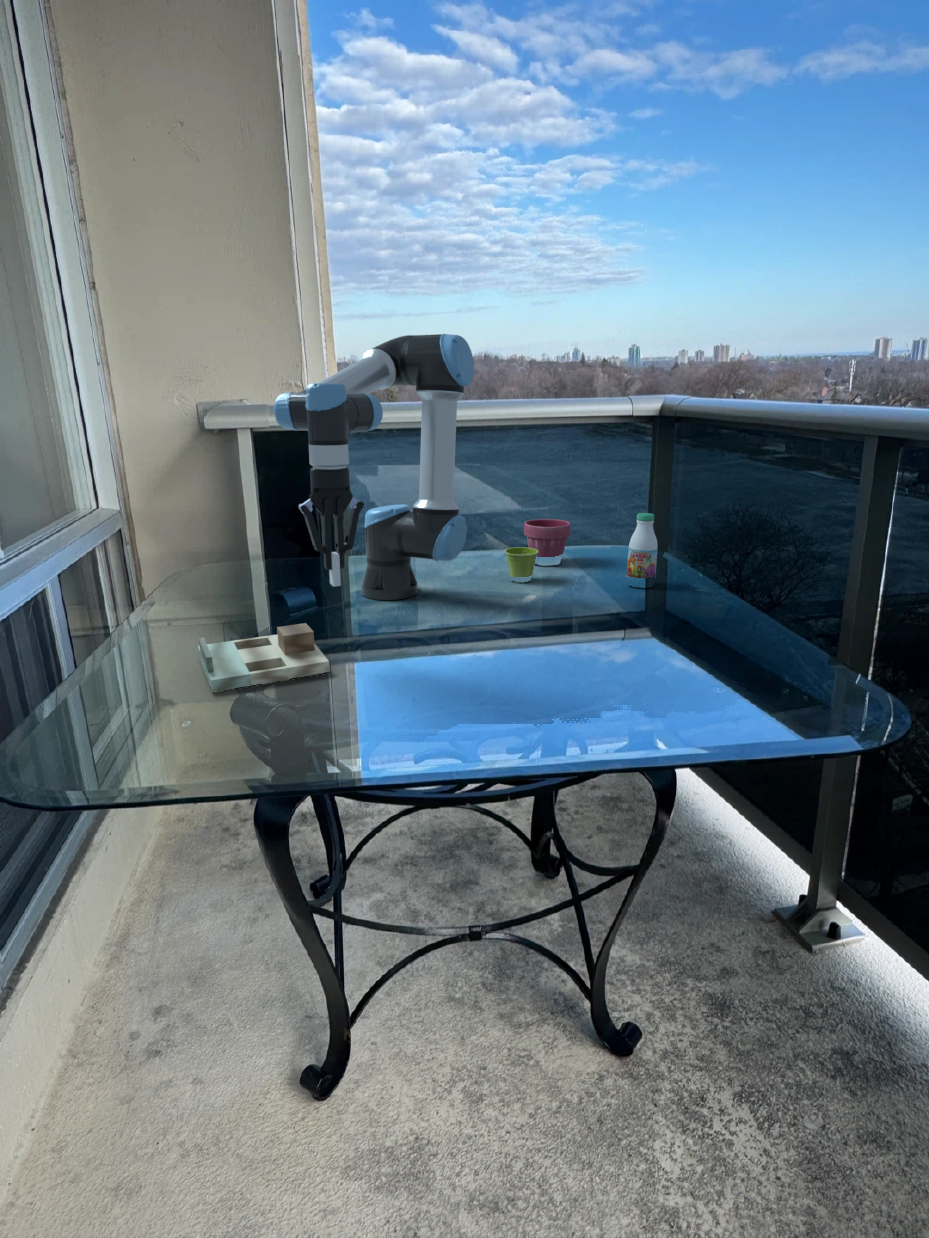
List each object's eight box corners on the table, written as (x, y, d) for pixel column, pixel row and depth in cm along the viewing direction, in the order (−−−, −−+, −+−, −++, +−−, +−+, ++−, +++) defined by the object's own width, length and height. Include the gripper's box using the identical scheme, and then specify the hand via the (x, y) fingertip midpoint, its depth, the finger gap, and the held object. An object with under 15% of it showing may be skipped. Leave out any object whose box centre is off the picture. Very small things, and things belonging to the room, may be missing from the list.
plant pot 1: (538, 585, 204) (539, 554, 202) (504, 585, 204) (505, 554, 202) (536, 576, 213) (537, 547, 210) (503, 576, 213) (504, 547, 211)
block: (307, 641, 154) (306, 623, 152) (314, 650, 149) (313, 631, 147) (278, 645, 151) (276, 627, 150) (284, 655, 146) (283, 636, 145)
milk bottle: (625, 581, 208) (630, 511, 202) (652, 582, 207) (658, 511, 201) (626, 588, 201) (632, 516, 195) (655, 589, 200) (662, 516, 194)
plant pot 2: (522, 557, 235) (523, 518, 231) (566, 558, 235) (568, 518, 231) (524, 568, 222) (525, 526, 218) (571, 569, 221) (573, 527, 217)
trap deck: (304, 641, 161) (302, 617, 159) (329, 673, 144) (328, 646, 142) (199, 657, 152) (196, 631, 150) (212, 692, 135) (209, 664, 133)
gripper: (356, 463, 148) (360, 577, 155) (291, 466, 143) (299, 583, 150) (367, 467, 142) (371, 585, 149) (300, 470, 136) (308, 592, 144)
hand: (335, 584), depth 149 cm, fingers closed
